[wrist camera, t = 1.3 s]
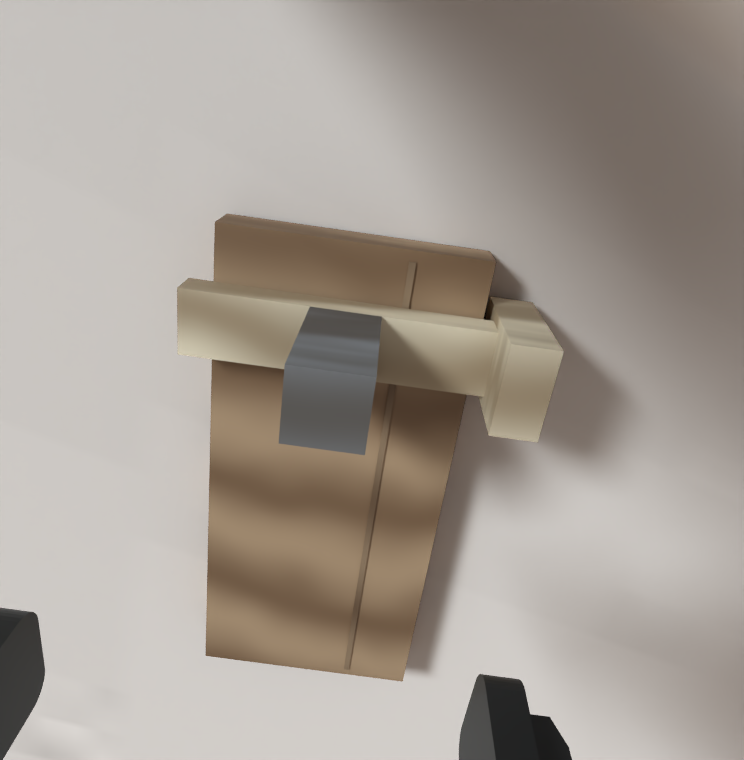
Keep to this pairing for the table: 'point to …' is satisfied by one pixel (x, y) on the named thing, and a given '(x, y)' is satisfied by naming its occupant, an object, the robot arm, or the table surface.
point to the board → (329, 464)
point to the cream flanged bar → (373, 357)
